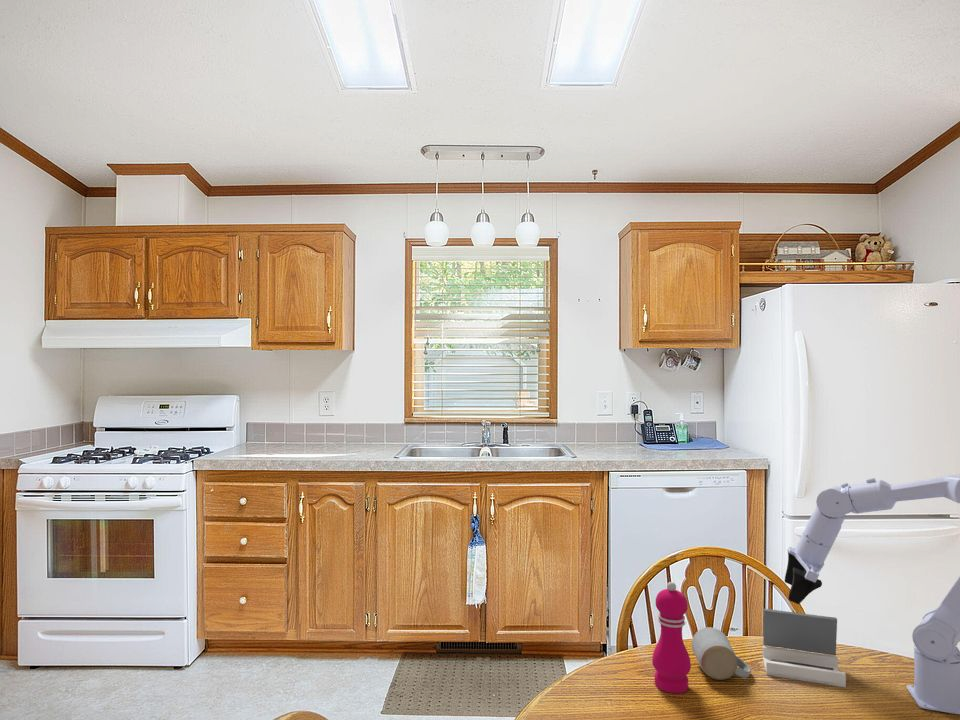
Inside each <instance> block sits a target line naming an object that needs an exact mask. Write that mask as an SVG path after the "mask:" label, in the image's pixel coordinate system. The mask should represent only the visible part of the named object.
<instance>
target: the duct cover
mask: <svg viewBox="0 0 960 720" xmlns="http://www.w3.org/2000/svg"><path fill="white" fill-rule="evenodd" d="M837 632H838V619H837V617H833V616H825V615H817V614H809V613H801V612H793V611H786V610H777V609H770V608H763V634H762V635H763V636H762V640H763V641H762V644H763V646H769V647H776V648H783V649H790V650H797V651H804V652H811V653H818V654H824V655H831V656H837V634H838V633H837Z"/></svg>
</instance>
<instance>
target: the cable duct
mask: <svg viewBox="0 0 960 720" xmlns="http://www.w3.org/2000/svg"><path fill="white" fill-rule="evenodd" d="M762 661H763V664H764V670H765V673H766V674H765V675H766V676H772V677H779V678H784V679H785V678H786V679H792V680H798V681H803V682H810V683H817V684H823V685H827V686H835V687H841V688H847V674H846V672H845V671H840V670H839V659H838V656H837V655H836V656H835V655H828V654H821V653H814V652H807V651H800V650H793V649H786V648H780V647H773V646H766V645H762Z"/></svg>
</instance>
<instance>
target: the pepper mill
mask: <svg viewBox="0 0 960 720" xmlns="http://www.w3.org/2000/svg"><path fill="white" fill-rule="evenodd" d="M688 606H689V605H688V600H687V597H686V596H685V594H683V593H682V592H681V591H680V590H677V585H676V583H675V582H673V581H669V582H668V583H667V584H666V588H665V589H662V590H660V591H659V592H658V593H657V594H656V597H655V607H656V609H657V610H658V613H657V617H658V619H657V621H658V623H659V624H660V634H659V635H660V636H659V639H658V641H657V643H656V645H655V647H654V649H653V653H652V659H651V663H652V666H653V668H654V670H655V672H654V685H655V686H656V687H657V688H658V689H660V690H661V691H662V692H663V691H664V692H665V693H671V694H682V693H683V694H684V693H685V692H686V691H688V689H689V677H688V676H687V675H688V674H689V673H690V671H691V669H692V666H691V658H690V655H689V653H688V650H687V648H686V645H685V644H684V639H683V627H684V626H685V625H686V621H685V620H686V617H685V614H686V613H687V612H688Z"/></svg>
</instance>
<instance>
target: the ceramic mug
mask: <svg viewBox="0 0 960 720" xmlns="http://www.w3.org/2000/svg"><path fill="white" fill-rule="evenodd" d="M691 648H692V649H691V650H692V653H693V654H694V656H695V659H696V660H697V662H698V664H699V667H700V668H701V669H702V671H703V673H705V674H706V675H707V676H708V677H709V678H710V679H711V678H712V679H713V680H718V681H724V680H728V679H729V678H731V677H732V676H733V675H736V676H738V677H741V678H742V679H743V678H744V679H748V678H749V676H750V674H751V672H752V669H751V667H750V666H749V665H748V663H747V662H745V661H744V660H743V659H741V658H740V657H739V656H737V655H736V652H735V651H734V649H733V647H732V645H731V643H730V641H729V639H728V637H727V636H726V634H725V633H724V632H723V631H721V630H720V629H718V628H716V627H710V626H709V627H707V626H706V627H702V628H700V629H699V630H697V631H696V632H695V633H694V635H693V637H692V639H691Z"/></svg>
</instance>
